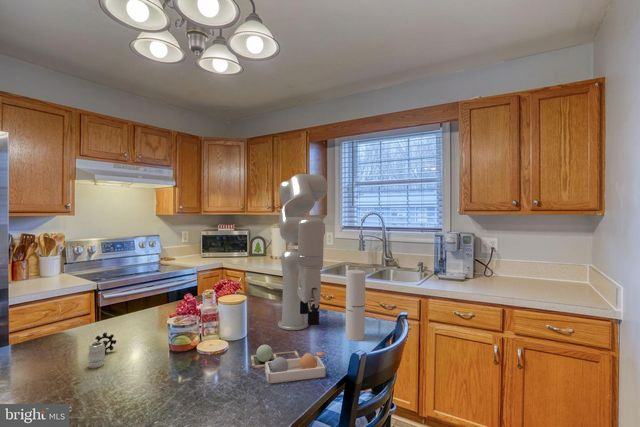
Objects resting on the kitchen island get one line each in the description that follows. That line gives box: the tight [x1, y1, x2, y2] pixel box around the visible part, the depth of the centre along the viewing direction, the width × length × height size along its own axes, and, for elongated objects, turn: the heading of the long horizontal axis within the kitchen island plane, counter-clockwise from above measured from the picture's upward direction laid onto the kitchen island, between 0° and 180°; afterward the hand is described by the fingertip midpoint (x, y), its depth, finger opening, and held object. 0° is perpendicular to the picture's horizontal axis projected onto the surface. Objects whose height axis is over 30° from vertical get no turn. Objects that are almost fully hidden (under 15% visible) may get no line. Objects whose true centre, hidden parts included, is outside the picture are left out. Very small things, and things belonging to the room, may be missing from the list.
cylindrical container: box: [344, 269, 367, 342], centre depth 126 cm, size 7×7×25 cm
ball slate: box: [271, 356, 288, 373], centre depth 95 cm, size 5×5×5 cm
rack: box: [250, 350, 301, 369], centre depth 104 cm, size 8×15×1 cm, turn 106°
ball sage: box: [255, 344, 274, 363], centre depth 103 cm, size 5×5×5 cm
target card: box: [303, 351, 326, 357], centre depth 109 cm, size 6×9×1 cm, turn 106°
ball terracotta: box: [300, 354, 317, 369], centre depth 97 cm, size 5×5×5 cm
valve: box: [87, 332, 117, 369], centre depth 103 cm, size 7×7×12 cm
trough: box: [264, 355, 326, 385], centre depth 96 cm, size 8×16×3 cm, turn 106°
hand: (308, 319), depth 97 cm, fingers open, 9 cm apart
